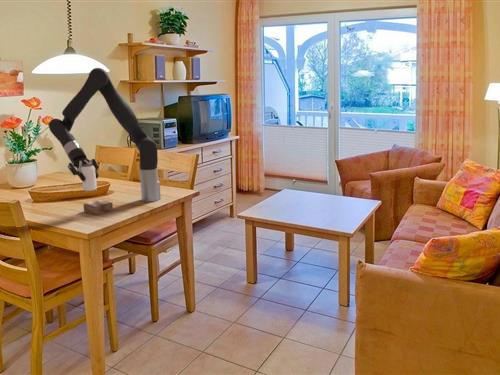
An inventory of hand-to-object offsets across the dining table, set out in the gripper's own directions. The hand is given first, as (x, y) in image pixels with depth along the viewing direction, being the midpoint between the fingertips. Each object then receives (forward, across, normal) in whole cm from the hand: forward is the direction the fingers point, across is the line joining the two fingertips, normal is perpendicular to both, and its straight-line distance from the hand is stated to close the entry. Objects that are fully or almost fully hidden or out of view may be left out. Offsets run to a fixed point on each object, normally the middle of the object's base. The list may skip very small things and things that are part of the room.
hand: (90, 178), depth 231 cm
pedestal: (+10, +4, +15) cm, 18 cm away
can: (+3, 0, +5) cm, 6 cm away
